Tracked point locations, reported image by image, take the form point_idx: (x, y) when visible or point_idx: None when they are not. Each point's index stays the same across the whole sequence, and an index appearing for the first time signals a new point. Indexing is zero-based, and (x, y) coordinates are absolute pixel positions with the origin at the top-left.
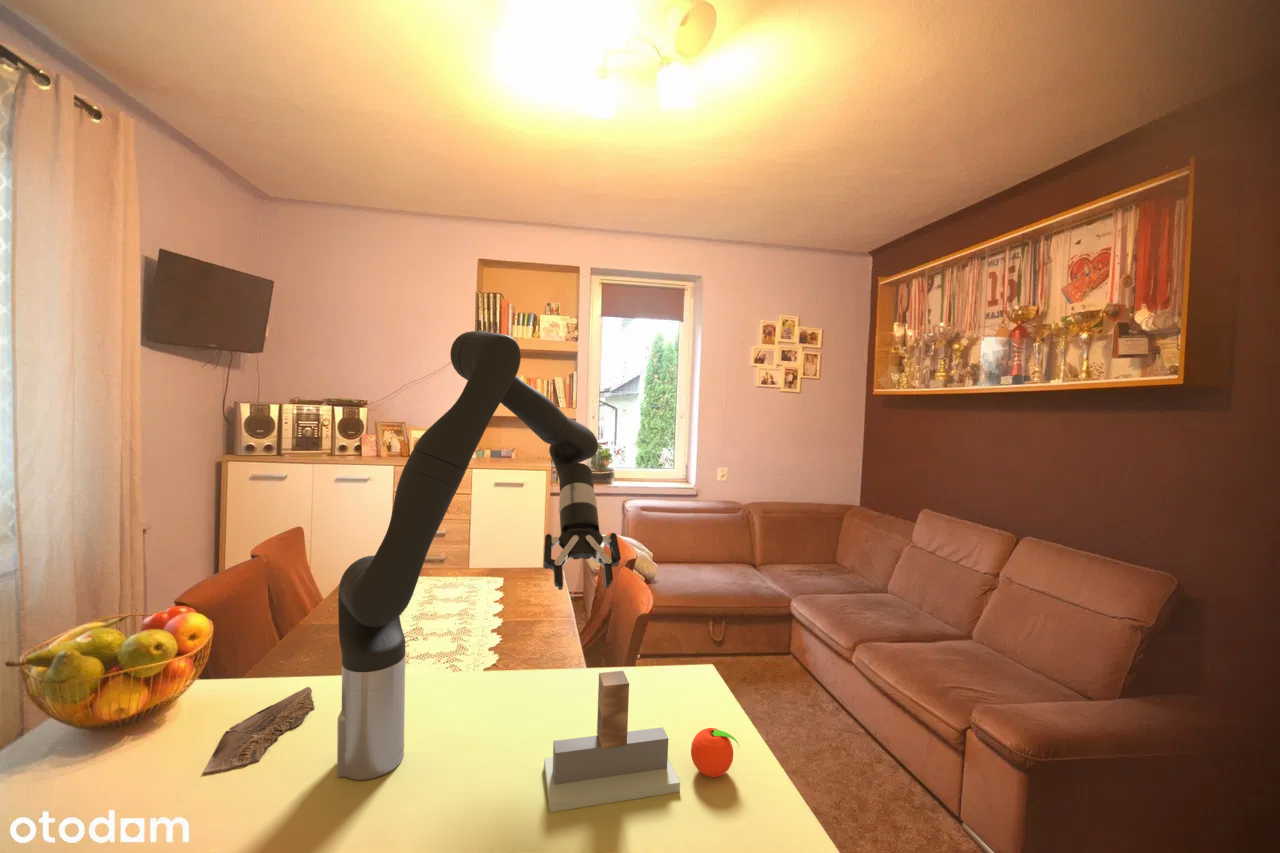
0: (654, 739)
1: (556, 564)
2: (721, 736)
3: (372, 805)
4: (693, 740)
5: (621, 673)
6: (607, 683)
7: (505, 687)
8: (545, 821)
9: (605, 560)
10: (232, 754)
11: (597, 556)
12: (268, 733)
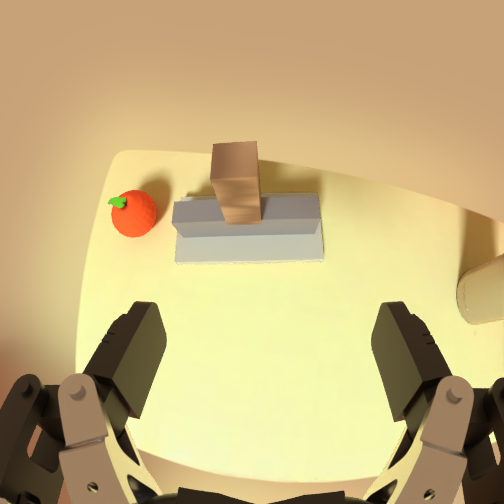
0: (191, 201)
1: (458, 379)
2: (119, 198)
3: (457, 238)
4: (145, 216)
5: (216, 170)
6: (248, 146)
7: (363, 441)
8: (319, 188)
9: (91, 398)
10: None
11: (134, 470)
12: None
